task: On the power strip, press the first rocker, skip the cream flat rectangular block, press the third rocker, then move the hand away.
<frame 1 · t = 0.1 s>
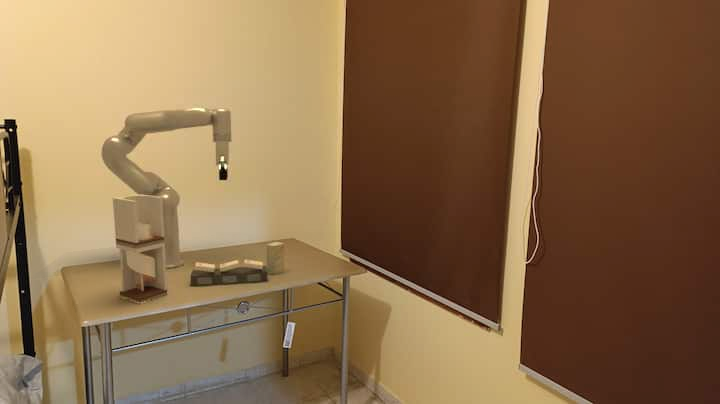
hand: (223, 178, 203), 37 cm above the table, tool pointing down, fingers open, 9 cm apart
cream flat rectangular block 2: (229, 265, 183), point 6 cm above the table, hinge at -12.0°
power strip: (230, 280, 184), on the table
skincare box: (275, 272, 195), on the table
rocker 1: (205, 266, 181), point 6 cm above the table, hinge at 12.0°
display case: (143, 296, 167), on the table
rocker 3: (253, 264, 185), point 6 cm above the table, hinge at 12.0°
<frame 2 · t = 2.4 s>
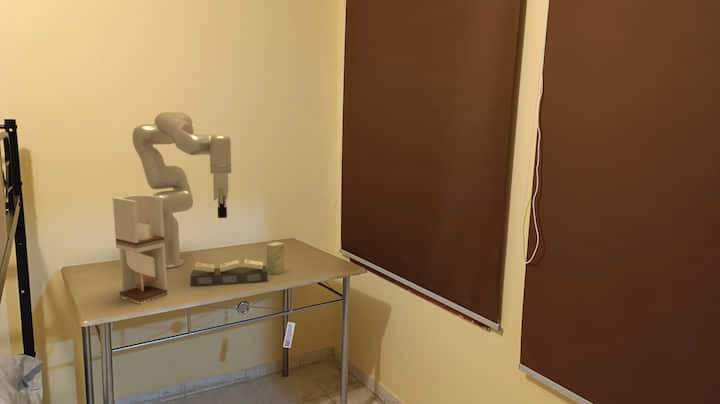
hand: (222, 217, 180), 25 cm above the table, tool pointing down, fingers closed
nothing on the table moved.
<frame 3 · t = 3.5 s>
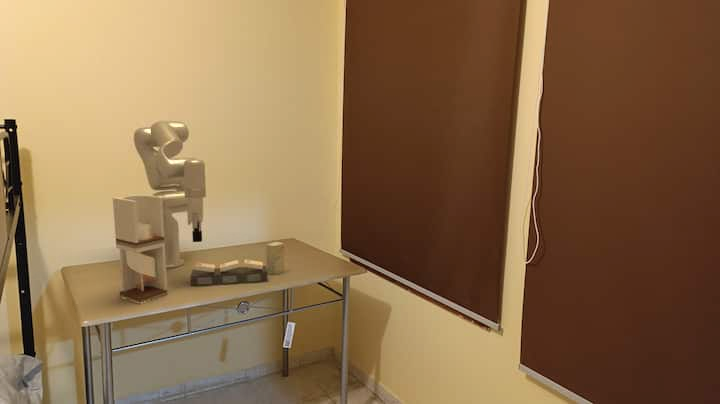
hand: (197, 241, 179), 16 cm above the table, tool pointing down, fingers closed
nothing on the table moved.
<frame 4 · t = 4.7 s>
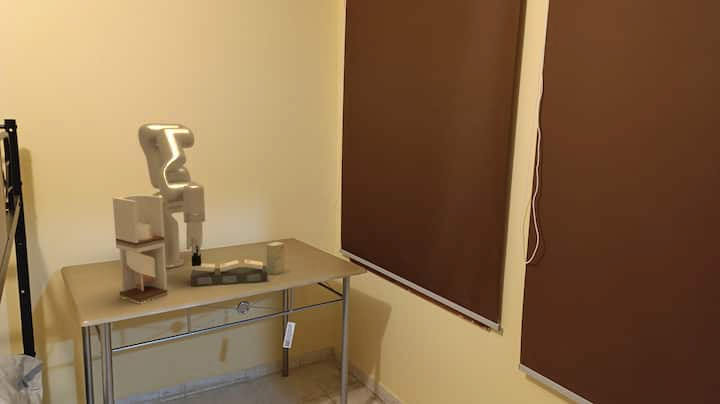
hand: (196, 265, 180), 7 cm above the table, tool pointing down, fingers closed
rocker 1: (205, 266, 181), point 6 cm above the table, hinge at 7.5°, touching gripper
everything else where it was.
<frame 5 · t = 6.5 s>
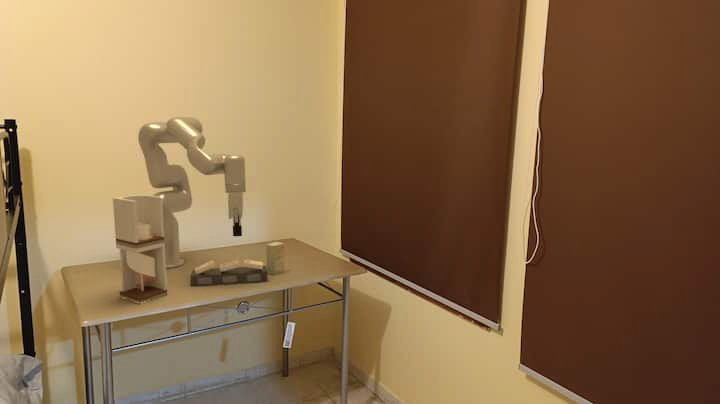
hand: (237, 235, 182), 18 cm above the table, tool pointing down, fingers closed
rocker 1: (205, 266, 181), point 6 cm above the table, hinge at -22.1°, touching power strip
everything else where it was.
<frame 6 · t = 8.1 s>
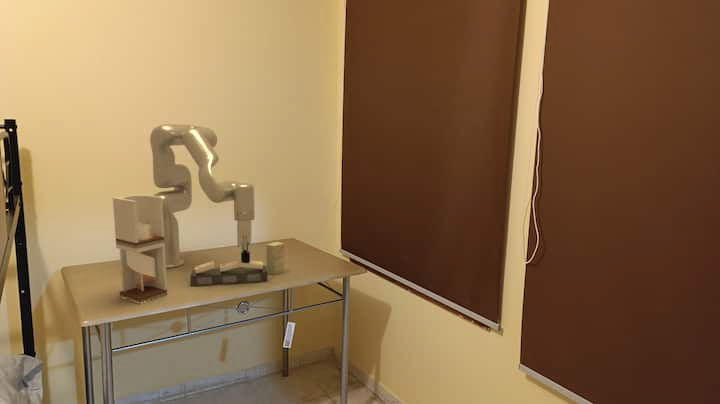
hand: (245, 262, 184), 7 cm above the table, tool pointing down, fingers closed
rocker 1: (205, 266, 181), point 6 cm above the table, hinge at -15.5°
rocker 3: (253, 264, 185), point 6 cm above the table, hinge at 7.4°, touching gripper
everything else where it was.
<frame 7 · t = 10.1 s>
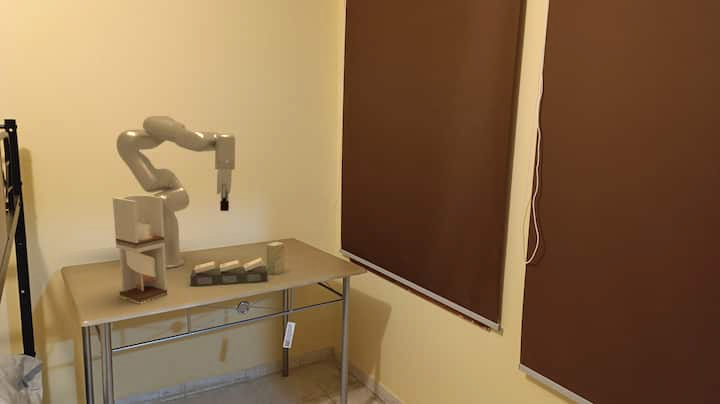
hand: (224, 210, 191), 25 cm above the table, tool pointing down, fingers closed
rocker 1: (205, 266, 181), point 6 cm above the table, hinge at -12.5°
rocker 3: (253, 264, 185), point 6 cm above the table, hinge at -21.1°, touching power strip
everything else where it was.
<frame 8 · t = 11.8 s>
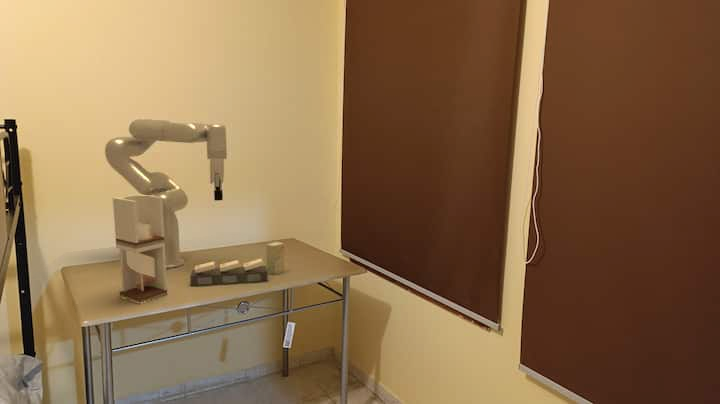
hand: (218, 200, 195), 29 cm above the table, tool pointing down, fingers closed
rocker 1: (205, 266, 181), point 6 cm above the table, hinge at -11.6°
rocker 3: (253, 264, 185), point 6 cm above the table, hinge at -14.9°
everything else where it was.
at the end: rocker 1 at -12° (first picture: +12°); rocker 3 at -15° (first picture: +12°); cream flat rectangular block 2 at -12° (first picture: -12°) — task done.
